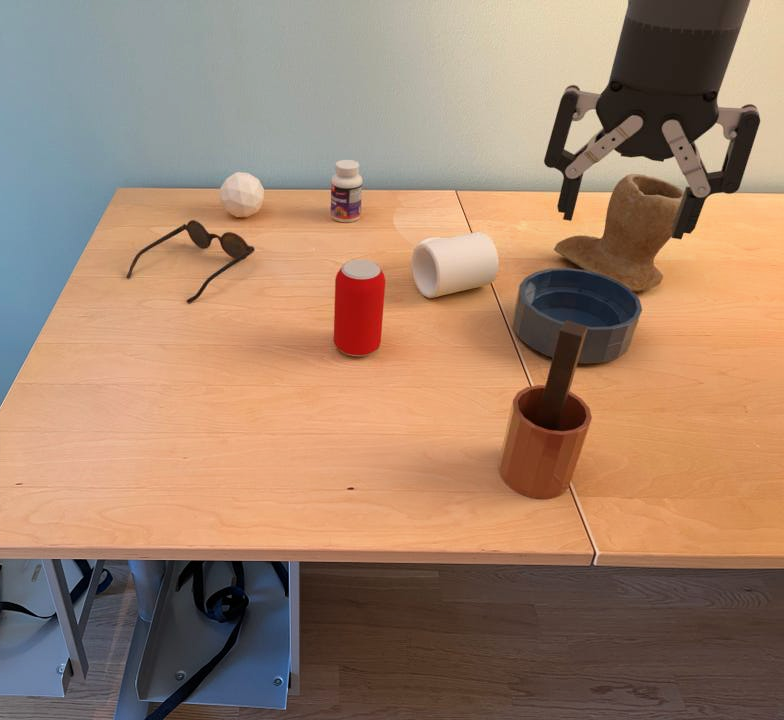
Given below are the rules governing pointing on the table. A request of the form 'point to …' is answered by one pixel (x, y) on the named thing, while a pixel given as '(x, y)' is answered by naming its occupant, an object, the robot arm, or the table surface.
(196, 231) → the eyeglasses
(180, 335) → the table surface
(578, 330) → the stick
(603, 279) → the bowl
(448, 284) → the mug
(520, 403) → the holder
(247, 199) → the geometric ball
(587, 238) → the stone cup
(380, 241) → the table surface
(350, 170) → the pill bottle
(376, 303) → the beverage can
